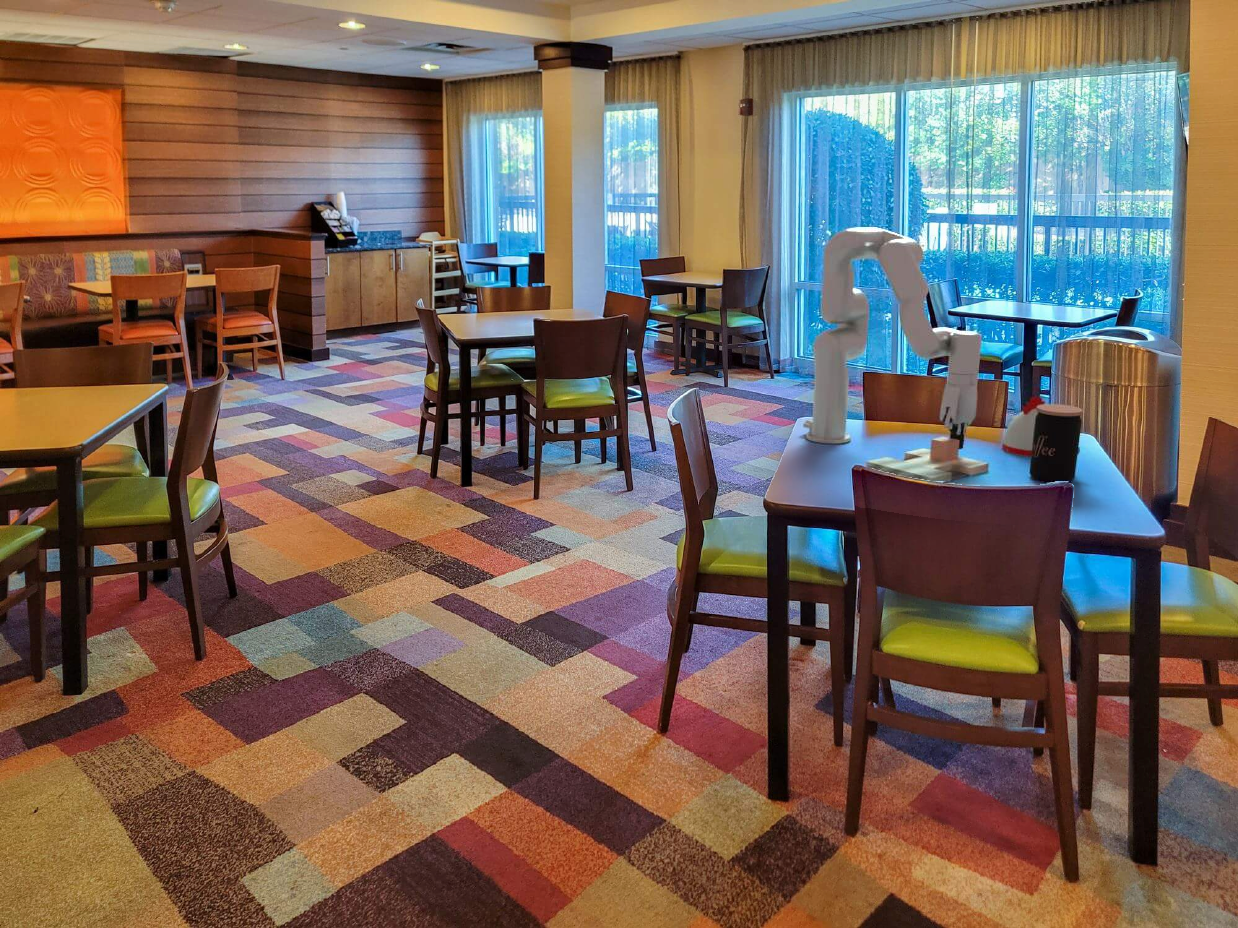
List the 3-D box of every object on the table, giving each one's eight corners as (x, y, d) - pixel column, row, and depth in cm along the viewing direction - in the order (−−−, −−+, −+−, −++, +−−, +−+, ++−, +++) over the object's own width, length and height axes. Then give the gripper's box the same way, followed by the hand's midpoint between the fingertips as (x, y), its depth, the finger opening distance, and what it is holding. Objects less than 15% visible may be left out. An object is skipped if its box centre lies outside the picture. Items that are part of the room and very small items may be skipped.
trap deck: (865, 468, 271) (866, 461, 271) (922, 455, 286) (923, 448, 285) (931, 486, 256) (932, 478, 255) (988, 470, 270) (988, 463, 270)
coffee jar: (1021, 473, 268) (1028, 404, 264) (1061, 472, 269) (1069, 403, 265) (1040, 484, 258) (1049, 412, 253) (1082, 484, 259) (1091, 412, 254)
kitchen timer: (1066, 452, 290) (1072, 399, 286) (1033, 458, 283) (1039, 404, 280) (1024, 442, 302) (1029, 391, 298) (991, 448, 295) (996, 395, 291)
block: (929, 457, 275) (931, 439, 274) (941, 455, 278) (943, 436, 277) (946, 461, 271) (948, 442, 270) (957, 458, 274) (959, 440, 273)
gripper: (966, 374, 280) (960, 441, 284) (932, 380, 271) (926, 449, 275) (991, 378, 274) (984, 447, 279) (958, 384, 265) (951, 455, 270)
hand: (956, 448), depth 277 cm, fingers closed
